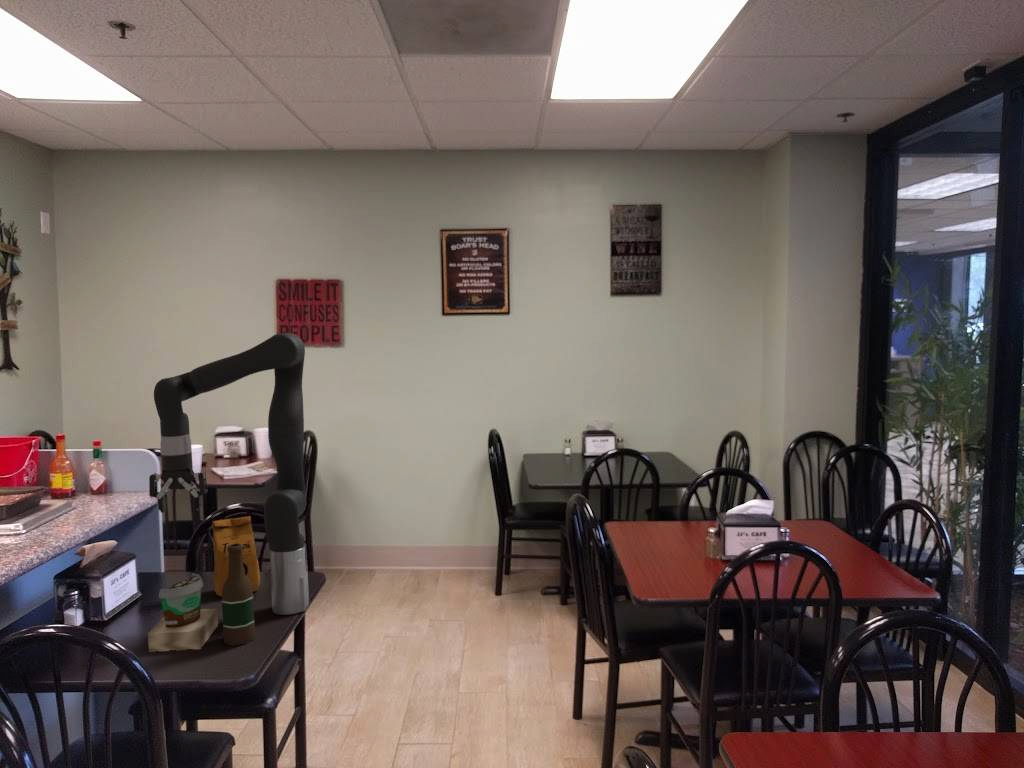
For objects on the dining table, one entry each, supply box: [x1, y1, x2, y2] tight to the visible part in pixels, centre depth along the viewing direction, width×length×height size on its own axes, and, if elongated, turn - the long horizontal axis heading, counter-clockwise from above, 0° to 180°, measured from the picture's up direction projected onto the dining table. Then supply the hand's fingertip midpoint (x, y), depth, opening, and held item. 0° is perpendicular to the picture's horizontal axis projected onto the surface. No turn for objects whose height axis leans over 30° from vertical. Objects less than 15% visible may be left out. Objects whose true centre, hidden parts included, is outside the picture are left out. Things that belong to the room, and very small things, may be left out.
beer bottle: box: [221, 543, 256, 647], centre depth 183 cm, size 8×8×24 cm
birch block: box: [147, 608, 219, 653], centre depth 185 cm, size 12×14×5 cm
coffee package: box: [211, 515, 261, 597], centre depth 216 cm, size 10×12×22 cm
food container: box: [158, 572, 204, 628], centre depth 184 cm, size 12×6×10 cm, turn 164°
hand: (179, 511), depth 199 cm, fingers open, 8 cm apart
